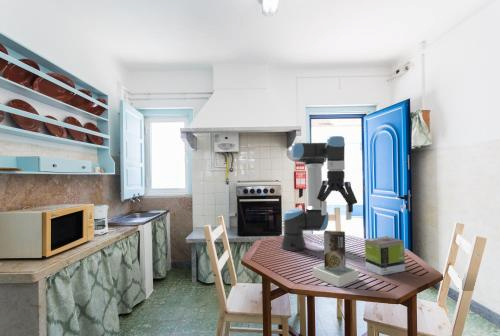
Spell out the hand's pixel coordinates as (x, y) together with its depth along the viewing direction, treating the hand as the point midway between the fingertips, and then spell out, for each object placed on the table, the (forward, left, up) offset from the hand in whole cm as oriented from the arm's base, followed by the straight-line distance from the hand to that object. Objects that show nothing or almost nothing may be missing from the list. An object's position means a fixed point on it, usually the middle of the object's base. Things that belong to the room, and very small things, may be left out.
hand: (335, 217), depth 125 cm
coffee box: (+1, -2, -23) cm, 23 cm away
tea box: (+9, +25, -27) cm, 38 cm away
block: (+1, -2, -27) cm, 27 cm away
